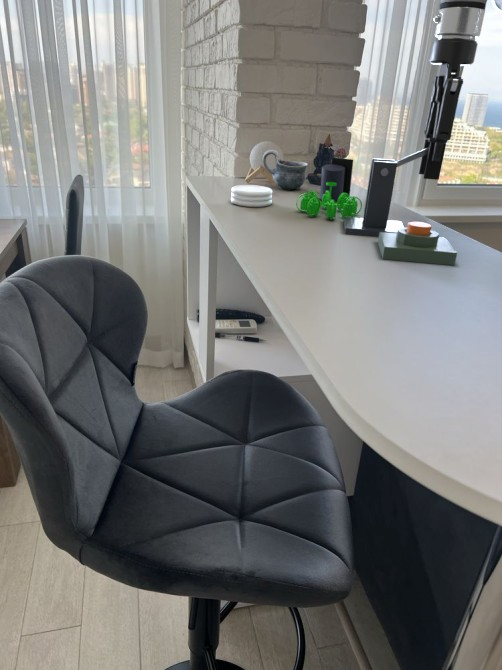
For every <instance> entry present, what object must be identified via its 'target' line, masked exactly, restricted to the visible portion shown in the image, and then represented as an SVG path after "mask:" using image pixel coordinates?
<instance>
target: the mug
mask: <svg viewBox="0 0 502 670" xmlns="http://www.w3.org/2000/svg"><path fill="white" fill-rule="evenodd" d="M270 155H273V156H274V159H275V166H274V168H271V167H270V166H269V165H268V163H267V157H268V156H270ZM261 161H262V165H263V167H264V169H265V170H267V172H268V173H270V174H271V175H272V180H273V183H274V184H275V185H276V186H278V188H280V189H283V190H296V189H299V188H300V187H302V186H303V185H304V183H305V182H306V179H307V169H308V167H309V164H308V162H303V161H293V160H284V159H281V158H280V156H279V152H278V151H277V150H276V149H275V150H274V149H268V150H266V151H265V152H264V154H263V156H262V160H261Z"/></svg>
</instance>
